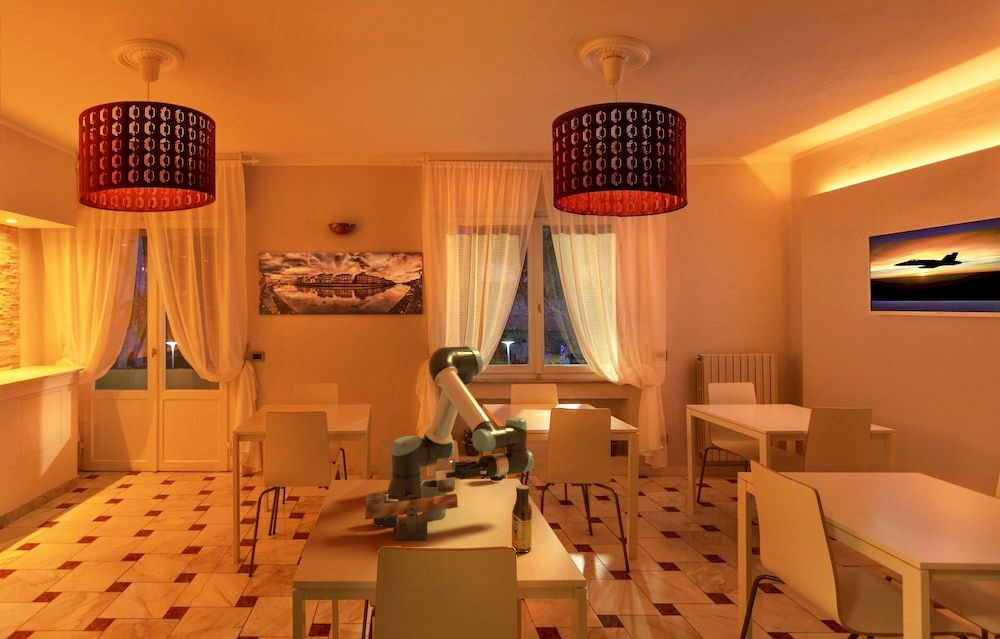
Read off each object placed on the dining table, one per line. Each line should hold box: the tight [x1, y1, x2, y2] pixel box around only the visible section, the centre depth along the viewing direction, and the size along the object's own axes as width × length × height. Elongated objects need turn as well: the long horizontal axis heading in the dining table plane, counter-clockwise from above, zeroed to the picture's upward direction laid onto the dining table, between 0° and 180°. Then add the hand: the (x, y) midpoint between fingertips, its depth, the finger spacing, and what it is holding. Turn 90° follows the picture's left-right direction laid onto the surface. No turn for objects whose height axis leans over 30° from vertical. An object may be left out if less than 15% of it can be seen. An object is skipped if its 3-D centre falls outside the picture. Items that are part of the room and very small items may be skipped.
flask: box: [373, 493, 400, 528], centre depth 208 cm, size 9×3×11 cm, turn 74°
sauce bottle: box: [511, 484, 533, 553], centre depth 186 cm, size 6×6×20 cm
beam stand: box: [395, 495, 428, 542], centre depth 199 cm, size 10×14×11 cm
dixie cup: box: [489, 475, 504, 484], centre depth 264 cm, size 8×8×11 cm
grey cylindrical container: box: [421, 479, 449, 521], centre depth 217 cm, size 10×10×12 cm
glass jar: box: [436, 457, 456, 493], centre depth 201 cm, size 6×6×10 cm
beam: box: [364, 491, 459, 520], centre depth 199 cm, size 30×9×6 cm, turn 96°
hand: (431, 473), depth 198 cm, fingers closed on glass jar, 6 cm apart
